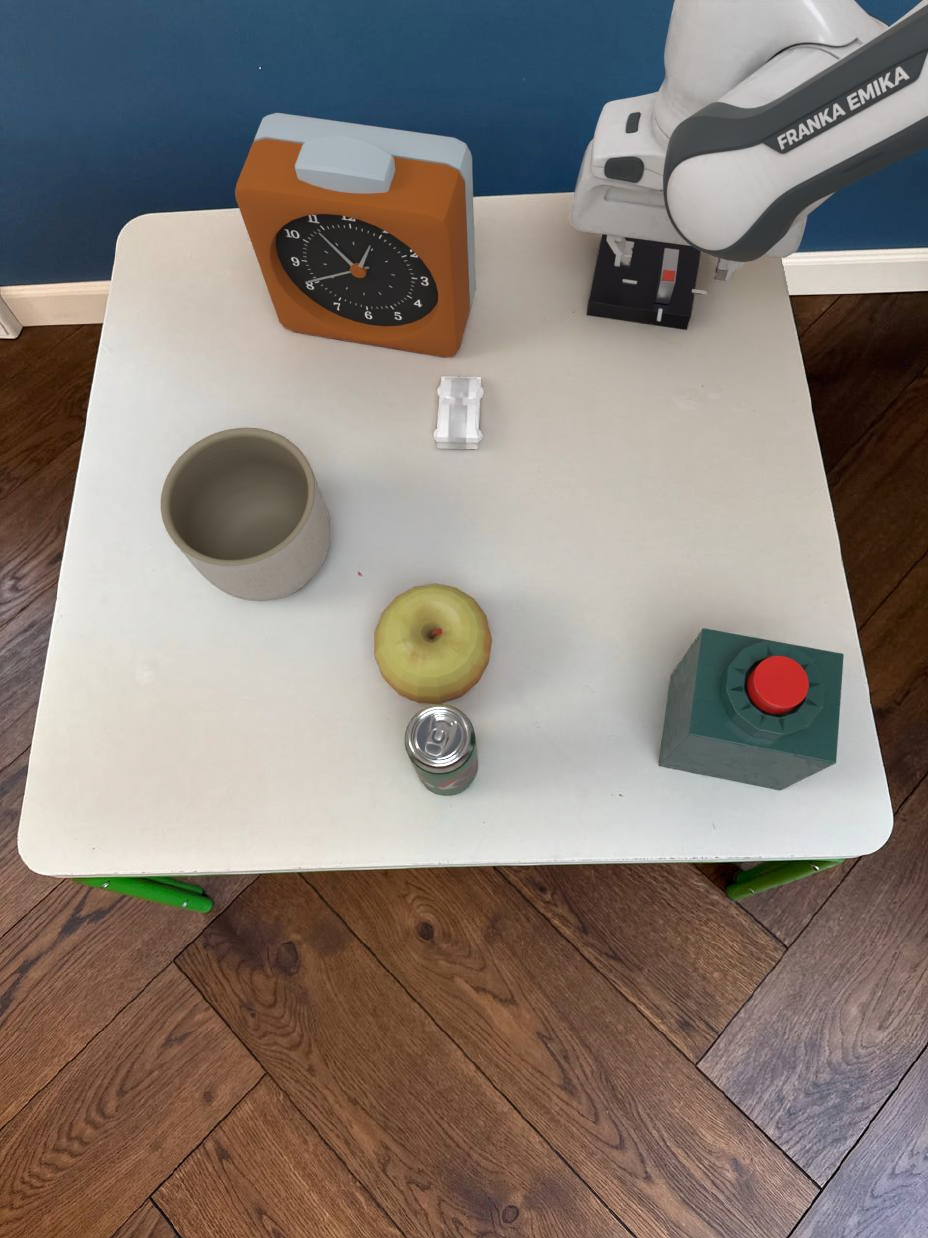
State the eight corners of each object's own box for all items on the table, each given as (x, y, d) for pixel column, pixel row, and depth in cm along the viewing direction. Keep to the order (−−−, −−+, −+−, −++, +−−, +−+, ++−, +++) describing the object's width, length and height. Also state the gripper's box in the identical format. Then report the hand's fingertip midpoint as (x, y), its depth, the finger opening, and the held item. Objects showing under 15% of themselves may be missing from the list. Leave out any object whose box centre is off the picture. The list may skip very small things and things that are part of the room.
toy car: (432, 453, 82) (431, 440, 80) (437, 381, 85) (436, 367, 83) (482, 454, 82) (481, 442, 80) (485, 382, 85) (485, 368, 83)
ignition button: (802, 668, 60) (810, 661, 58) (798, 718, 59) (806, 712, 57) (749, 658, 61) (756, 651, 59) (744, 708, 59) (751, 701, 58)
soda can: (486, 747, 73) (484, 713, 61) (466, 805, 71) (461, 781, 60) (429, 728, 73) (417, 691, 62) (408, 785, 72) (392, 758, 61)
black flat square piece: (709, 252, 89) (714, 236, 87) (696, 340, 86) (701, 326, 84) (601, 237, 90) (604, 221, 88) (584, 324, 87) (586, 309, 85)
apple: (500, 703, 74) (501, 677, 66) (387, 721, 74) (375, 697, 66) (482, 597, 77) (480, 560, 70) (373, 614, 77) (360, 579, 70)
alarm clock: (280, 332, 88) (219, 163, 68) (304, 264, 91) (252, 82, 71) (458, 362, 86) (448, 197, 66) (477, 291, 89) (473, 113, 69)
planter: (363, 524, 80) (344, 464, 70) (292, 638, 77) (261, 592, 66) (251, 470, 82) (216, 404, 72) (176, 578, 79) (129, 524, 69)
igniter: (789, 697, 73) (854, 645, 60) (781, 790, 71) (846, 758, 58) (670, 674, 74) (708, 619, 61) (658, 766, 72) (694, 728, 59)
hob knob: (659, 270, 86) (665, 245, 83) (673, 271, 86) (679, 247, 83) (654, 302, 85) (660, 279, 82) (669, 304, 85) (675, 281, 82)
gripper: (839, 130, 70) (786, 257, 83) (585, 100, 72) (573, 229, 85) (833, 189, 68) (780, 310, 81) (572, 157, 70) (561, 280, 83)
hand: (672, 268), depth 83 cm, fingers open, 8 cm apart
